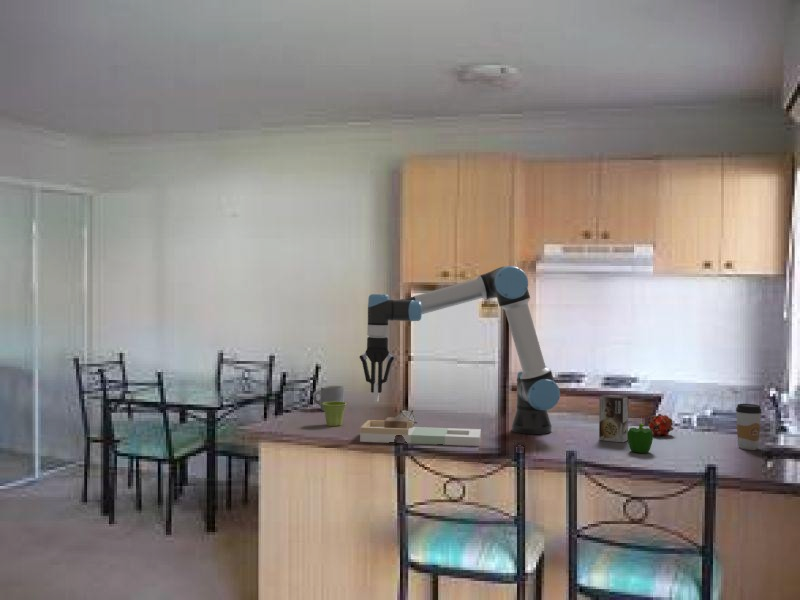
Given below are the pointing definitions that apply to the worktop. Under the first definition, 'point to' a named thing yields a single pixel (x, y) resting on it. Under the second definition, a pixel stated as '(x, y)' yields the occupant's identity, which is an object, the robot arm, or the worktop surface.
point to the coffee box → (613, 418)
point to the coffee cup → (748, 425)
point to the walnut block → (396, 422)
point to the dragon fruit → (660, 425)
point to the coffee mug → (329, 395)
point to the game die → (407, 415)
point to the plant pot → (334, 413)
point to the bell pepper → (640, 439)
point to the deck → (419, 434)
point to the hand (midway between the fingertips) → (376, 401)
